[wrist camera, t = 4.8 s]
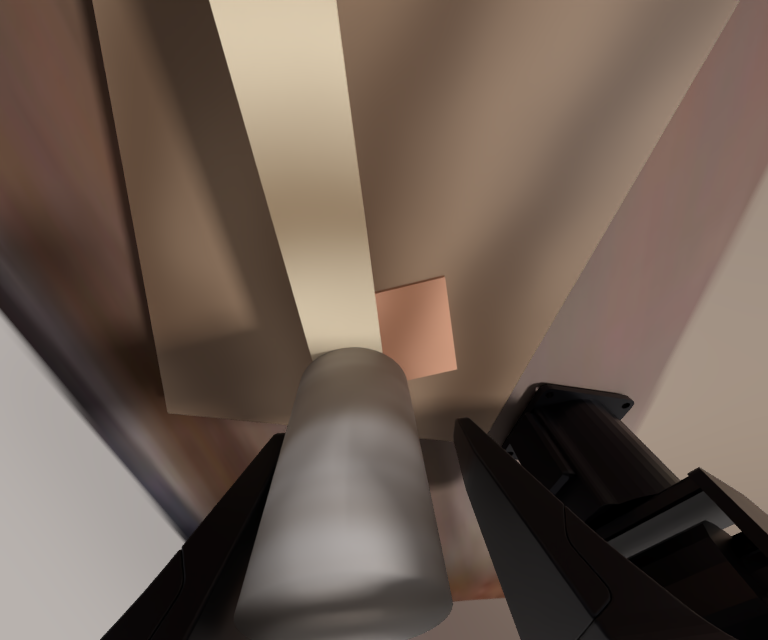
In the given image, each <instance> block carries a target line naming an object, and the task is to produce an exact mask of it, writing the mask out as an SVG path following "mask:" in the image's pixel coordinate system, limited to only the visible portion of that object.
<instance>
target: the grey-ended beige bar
mask: <svg viewBox="0 0 768 640" xmlns="http://www.w3.org/2000/svg"><path fill="white" fill-rule="evenodd" d="M209 2H210V5H211V9H212V12H213V16H214V19H215V23H216V26H217V30H218V33H219V37H220V40H221V44H222V47H223V51H224V54H225V58H226V61H227V65H228V68H229V72H230V75H231V79H232V82H233V86H234V89H235V93H236V96H237V100H238V103H239V107H240V110H241V114H242V117H243V121H244V124H245V127H246V131H247V134H248V138H249V141H250V145H251V148H252V152H253V155H254V159H255V162H256V166H257V169H258V173H259V176H260V180H261V183H262V187H263V190H264V194H265V197H266V201H267V204H268V208H269V211H270V215H271V218H272V222H273V225H274V229H275V232H276V236H277V239H278V243H279V246H280V250H281V253H282V257H283V260H284V264H285V267H286V271H287V274H288V277H289V281H290V284H291V288H292V291H293V295H294V298H295V302H296V305H297V309H298V312H299V316H300V319H301V323H302V326H303V330H304V333H305V337H306V340H307V344H308V347H309V351H310V354H311V358H312V361H313V362H312V363H311V364H310V365H309V366H308V367H307V368H306V370H305V371H304V373H303V375H302V377H301V380H300V384H299V387H298V391H297V394H296V398H295V401H294V405H293V409H292V412H291V416H290V419H289V423H288V426H287V430H286V433H285V437H284V440H283V444H282V447H281V451H280V455H279V458H278V462H277V465H276V469H275V472H274V476H273V479H272V483H271V486H270V490H269V494H268V497H267V501H266V504H265V508H264V511H263V515H262V518H261V522H260V525H259V529H258V532H257V536H256V540H255V543H254V547H253V550H252V554H251V557H250V561H249V564H248V568H247V571H246V575H245V579H244V582H243V586H242V589H241V593H240V596H239V600H238V603H237V607H236V610H235V614H234V623H235V626H236V628H237V629H238V630H239V631H240V632H241V633H242V634H243V635H245V636H246V637H248V638H250V639H252V640H407V639H410V638H413V637H416V636H418V635H421V634H423V633H425V632H427V631H429V630H431V629H433V628H434V627H436V626H437V625H439V624H440V623H441V622H442V621H444V620H445V619H446V618H447V616H448V615H449V614H450V612H451V610H452V606H453V603H452V597H451V592H450V587H449V582H448V577H447V572H446V567H445V562H444V558H443V553H442V548H441V543H440V538H439V533H438V528H437V523H436V518H435V514H434V509H433V504H432V499H431V494H430V489H429V484H428V479H427V474H426V470H425V465H424V460H423V455H422V450H421V445H420V440H419V435H418V431H417V426H416V421H415V416H414V411H413V406H412V401H411V396H410V391H409V387H408V382H407V378H406V375H405V373H404V371H403V370H402V368H401V367H400V366H399V365H398V364H397V363H396V362H395V361H394V360H393V359H392V358H390V357H389V356H387V355H385V354H383V351H382V344H381V336H380V328H379V321H378V313H377V306H376V298H375V290H374V283H373V275H372V268H371V260H370V252H369V245H368V237H367V229H366V222H365V214H364V207H363V199H362V191H361V184H360V176H359V168H358V161H357V153H356V146H355V138H354V130H353V123H352V115H351V108H350V100H349V92H348V85H347V77H346V69H345V62H344V54H343V47H342V39H341V31H340V24H339V16H338V8H337V1H336V0H209Z"/></svg>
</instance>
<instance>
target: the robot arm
mask: <svg viewBox="0 0 768 640" xmlns="http://www.w3.org/2000/svg"><path fill="white" fill-rule="evenodd" d="M633 405H634V402H633V400H632V399H630V398H629V397H628V396H626V395H620V394H613V393H606V392H599V391H592V390H585V389H578V388H571V387H564V386H557V385H550V384H547V385H543V386H542V387H540V388H539V390H538V391H537V393H536V394H535V396H534V397H533V399H532V400H531V402H530V404H529V405H528V407H527V408H526V410H525V411H524V413H523V415H522V416H521V418H520V419H519V421H518V422H517V424H516V426H515V427H514V429H513V430H512V432H511V433H510V435H509V437H508V438H507V440H506V441H505V443H504V444H503V446H502V447H501V446H500V445H499V444H498V443H496V442H495V441H494V440H493V439H492V438H491V437H490V436H489V435H488V434H487V433H486V432H484V431H483V430H482V429H481V428H480V427H479V426H478V425H477V424H476V423H475V422H474V421H472V420H471V419H470V418H469V417H459V418H456V420H455V426H454V433H453V439H454V444H455V448H456V452H457V456H458V460H459V464H460V468H461V472H462V476H463V480H464V484H465V487H466V491H467V494H468V497H469V499H470V502H471V505H472V508H473V510H474V513H475V516H476V519H477V521H478V524H479V527H480V529H481V532H482V535H483V538H484V540H485V543H486V546H487V549H488V551H489V554H490V557H491V560H492V562H493V565H494V568H495V571H496V573H497V576H498V579H499V581H500V584H501V587H502V590H503V592H504V595H505V598H506V601H507V603H508V606H509V609H510V612H511V614H512V617H513V619H514V623H515V625H516V628H517V631H518V633H519V636H520V639H521V640H768V515H767V514H766V513H765V512H764V511H762V510H761V509H760V508H759V507H758V506H756V505H755V504H754V503H753V502H752V501H751V500H749V499H748V498H747V497H745V496H744V495H743V494H742V493H740V492H738V491H736V490H735V489H734V488H732V487H730V486H729V485H727V484H726V483H724V482H722V481H721V480H719V479H718V478H716V477H714V476H713V475H711V474H709V473H708V472H706V471H705V470H703V469H701V468H700V467H698V468H697V469H695V470H693V471H691V472H689V473H688V475H689V476H688V477H686V478H685V479H683V480H681V481H680V480H679V479H678V478H677V477H676V476H675V475H674V474H673V473H672V472H671V471H670V470H669V469H668V468H667V467H666V466H665V465H664V464H663V463H662V462H661V461H660V460H659V458H658V457H656V455H654V454H653V452H651V450H650V449H649V448H648V447H646V445H644V443H642V441H641V440H640V439H638V437H637V436H636V435H635V434H634V433H633V432H632V431H631V430H630V429H629V428H628V427H627V426H626V425H625V424H624V423H623V422H622V421H621V419H622V418H623V417H624V416H625V414H626V413H627V412H628V411H629V410H630V409H631V408H632V406H633ZM284 437H285V433H277V434H275V435H273V437H272V438H271V439H270V440H269V441H268V443H267V444H266V445H265V446H264V448H263V449H262V450H261V451H260V452H259V454H258V455H257V456H256V457H255V458H254V460H253V461H252V462H251V463H250V465H249V466H248V467H247V468H246V469H245V471H244V472H243V473H242V474H241V475H240V477H239V478H238V479H237V480H236V482H235V483H234V484H233V485H232V486H231V488H230V489H229V490H228V491H227V492H226V494H225V495H224V496H223V497H222V499H221V500H220V501H219V502H218V503H217V505H216V506H215V507H214V508H213V509H212V511H211V512H210V513H209V514H208V516H207V517H206V518H205V519H204V520H203V522H202V523H201V524H200V525H199V526H198V528H197V529H196V530H195V531H194V533H193V534H192V535H191V536H190V537H189V539H188V540H187V541H186V542H185V544H184V545H183V546H182V550H179V551H178V552H177V553H176V554H175V555H174V557H173V558H172V559H171V560H170V562H169V563H168V564H167V565H166V566H165V568H164V569H163V570H162V571H161V572H160V574H159V575H158V576H157V577H156V578H155V579H154V580H153V582H152V583H151V584H150V585H149V586H148V588H147V589H146V590H145V591H144V592H143V593H142V594H141V596H140V597H139V598H138V599H137V600H136V601H135V602H134V603H133V604H132V605H131V607H130V608H129V609H128V610H127V611H126V612H125V613H124V615H122V617H121V618H120V619H119V620H118V621H117V622H116V623H115V624H114V625H113V626H112V627H111V628H110V629H109V631H108V632H107V633H106V634H105V635H104V636H103V637H102V638H101V639H100V640H252V639H250V638H248V637H246V636H245V635H243V634H242V633H241V632H240V631H239V630H238V629H237V628H236V626H235V623H234V614H235V610H236V607H237V603H238V600H239V596H240V593H241V589H242V586H243V582H244V579H245V575H246V571H247V568H248V564H249V561H250V557H251V554H252V550H253V547H254V543H255V540H256V536H257V532H258V529H259V525H260V522H261V518H262V515H263V511H264V508H265V504H266V501H267V497H268V494H269V490H270V486H271V483H272V479H273V476H274V472H275V469H276V465H277V462H278V458H279V455H280V451H281V447H282V444H283V440H284ZM515 459H516V460H519V462H520V464H521V465H520V464H519V463H518V462H517V461H516V460H515ZM733 524H735V525H736V526H737V527H738V528H739V529H740V530H741V531H742V532H740V533H738V534H736V535H733V536H730V535H729V534H728V533H726V532H725V531H723V530H722V529H724V528H726V527H729V526H731V525H733Z"/></svg>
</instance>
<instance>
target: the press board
mask: <svg viewBox="0 0 768 640" xmlns="http://www.w3.org/2000/svg"><path fill="white" fill-rule="evenodd" d="M336 1H337V8H338V16H339V24H340V31H341V39H342V47H343V54H344V62H345V69H346V77H347V85H348V92H349V100H350V108H351V115H352V123H353V130H354V138H355V146H356V153H357V161H358V168H359V176H360V184H361V191H362V199H363V207H364V214H365V222H366V229H367V237H368V245H369V252H370V260H371V268H372V275H373V283H374V290H375V298H376V306H377V313H378V321H379V328H380V336H381V344H382V351H383V354H385V355H387V356H389V357H390V358H392V359H393V360H394V361H395V362H396V363H397V364H398V365H399V366H400V367H401V368H402V370H403V371H404V373H405V375H406V378H407V382H408V387H409V391H410V396H411V401H412V406H413V411H414V416H415V421H416V426H417V431H418V435H419V438H422V439H432V440H442V441H452V442H454V439H453V433H454V426H455V420H456V418H459V417H469V418H470V419H471V420H472V421H474V422H475V423H476V424H477V425H478V426H479V427H480V428H481V429H482V430H483V431H484V432H486V433H487V434H488V432H489V430H490V429H491V427H492V425H493V423H494V422H495V420H496V418H497V417H498V415H499V413H500V411H501V410H502V408H503V406H504V405H505V403H506V401H507V399H508V398H509V396H510V394H511V393H512V391H513V389H514V387H515V386H516V384H517V382H518V381H519V379H520V377H521V375H522V374H523V372H524V370H525V369H526V367H527V365H528V363H529V362H530V360H531V358H532V357H533V355H534V353H535V351H536V350H537V348H538V346H539V345H540V343H541V341H542V339H543V338H544V336H545V334H546V332H547V331H548V329H549V327H550V326H551V324H552V322H553V320H554V319H555V317H556V315H557V314H558V312H559V310H560V308H561V307H562V305H563V303H564V302H565V300H566V298H567V296H568V295H569V293H570V291H571V290H572V288H573V286H574V284H575V283H576V281H577V279H578V278H579V276H580V274H581V272H582V271H583V269H584V267H585V266H586V264H587V262H588V260H589V259H590V257H591V255H592V254H593V252H594V250H595V248H596V247H597V245H598V243H599V242H600V240H601V238H602V236H603V235H604V233H605V231H606V230H607V228H608V226H609V224H610V223H611V221H612V219H613V218H614V216H615V214H616V212H617V211H618V209H619V207H620V206H621V204H622V202H623V200H624V199H625V197H626V195H627V193H628V192H629V190H630V188H631V187H632V185H633V183H634V181H635V180H636V178H637V176H638V175H639V173H640V171H641V169H642V168H643V166H644V164H645V163H646V161H647V159H648V157H649V156H650V154H651V152H652V151H653V149H654V147H655V145H656V144H657V142H658V140H659V139H660V137H661V135H662V133H663V132H664V130H665V128H666V127H667V125H668V123H669V121H670V120H671V118H672V116H673V115H674V113H675V111H676V109H677V108H678V106H679V104H680V103H681V101H682V99H683V97H684V96H685V94H686V92H687V91H688V89H689V87H690V85H691V84H692V82H693V80H694V79H695V77H696V75H697V73H698V72H699V70H700V68H701V66H702V65H703V63H704V61H705V60H706V58H707V56H708V54H709V53H710V51H711V49H712V48H713V46H714V44H715V42H716V41H717V39H718V37H719V36H720V34H721V32H722V30H723V29H724V27H725V25H726V24H727V22H728V20H729V18H730V17H731V15H732V13H733V12H734V10H735V8H736V6H737V5H738V3H739V1H740V0H336ZM92 2H93V7H94V13H95V18H96V23H97V29H98V34H99V40H100V45H101V51H102V56H103V62H104V67H105V73H106V78H107V84H108V89H109V95H110V100H111V106H112V111H113V117H114V122H115V128H116V133H117V138H118V144H119V149H120V155H121V160H122V166H123V171H124V177H125V182H126V188H127V193H128V199H129V204H130V210H131V215H132V221H133V226H134V232H135V237H136V243H137V248H138V253H139V259H140V264H141V270H142V275H143V281H144V286H145V292H146V297H147V303H148V308H149V314H150V319H151V325H152V330H153V336H154V341H155V347H156V352H157V358H158V363H159V368H160V374H161V379H162V385H163V390H164V396H165V401H166V407H167V412H168V413H171V414H181V415H191V416H201V417H211V418H221V419H231V420H241V421H251V422H261V423H271V424H281V425H288V423H289V419H290V416H291V412H292V409H293V405H294V401H295V398H296V394H297V391H298V387H299V384H300V380H301V377H302V375H303V373H304V371H305V370H306V368H307V367H308V366H309V365H310V364H311V363H312V362H313V361H312V358H311V354H310V351H309V347H308V344H307V340H306V337H305V333H304V330H303V326H302V323H301V319H300V316H299V312H298V309H297V305H296V302H295V298H294V295H293V291H292V288H291V284H290V281H289V277H288V274H287V271H286V267H285V264H284V260H283V257H282V253H281V250H280V246H279V243H278V239H277V236H276V232H275V229H274V225H273V222H272V218H271V215H270V211H269V208H268V204H267V201H266V197H265V194H264V190H263V187H262V183H261V180H260V176H259V173H258V169H257V166H256V162H255V159H254V155H253V152H252V148H251V145H250V141H249V138H248V134H247V131H246V127H245V124H244V121H243V117H242V114H241V110H240V107H239V103H238V100H237V96H236V93H235V89H234V86H233V82H232V79H231V75H230V72H229V68H228V65H227V61H226V58H225V54H224V51H223V47H222V44H221V40H220V37H219V33H218V30H217V26H216V23H215V19H214V16H213V12H212V9H211V5H210V2H209V0H92Z"/></svg>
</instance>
